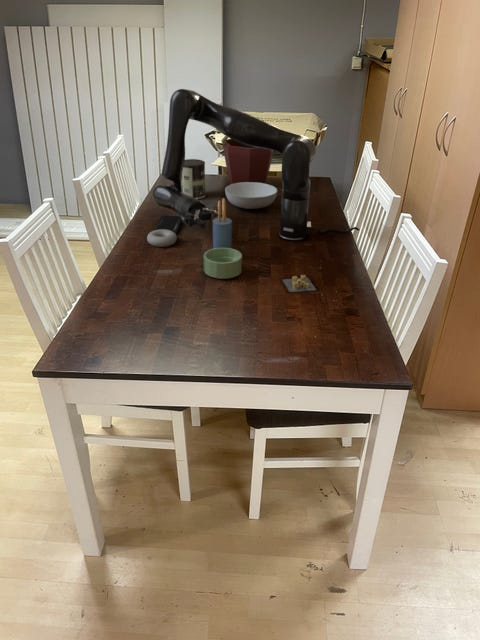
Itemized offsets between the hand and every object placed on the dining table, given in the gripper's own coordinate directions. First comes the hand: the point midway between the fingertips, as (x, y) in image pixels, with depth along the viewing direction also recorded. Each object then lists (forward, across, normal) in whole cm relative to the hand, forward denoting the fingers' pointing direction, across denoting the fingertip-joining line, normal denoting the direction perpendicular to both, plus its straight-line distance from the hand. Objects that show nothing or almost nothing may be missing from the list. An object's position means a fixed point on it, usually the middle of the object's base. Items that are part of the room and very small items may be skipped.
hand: (215, 223), depth 164 cm
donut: (-16, -11, +10) cm, 22 cm away
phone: (-28, -2, +10) cm, 30 cm away
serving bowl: (-31, +37, +10) cm, 49 cm away
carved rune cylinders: (+32, +8, +10) cm, 35 cm away
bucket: (-54, +52, +10) cm, 76 cm away
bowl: (+13, -6, +10) cm, 18 cm away
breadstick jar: (+4, 0, +10) cm, 11 cm away
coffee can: (-54, +23, +10) cm, 60 cm away
